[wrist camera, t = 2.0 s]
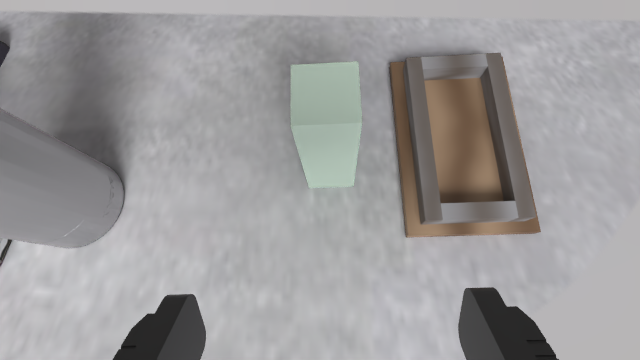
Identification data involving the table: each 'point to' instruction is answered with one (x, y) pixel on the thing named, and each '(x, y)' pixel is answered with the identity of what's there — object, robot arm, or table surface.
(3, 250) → the candy bar box
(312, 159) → the pale green angular block
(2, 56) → the calculator
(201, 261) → the table surface
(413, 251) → the table surface
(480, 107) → the track
